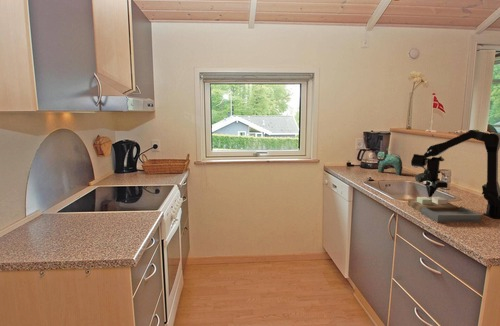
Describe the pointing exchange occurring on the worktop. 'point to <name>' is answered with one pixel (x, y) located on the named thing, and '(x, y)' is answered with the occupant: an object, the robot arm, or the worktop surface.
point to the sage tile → (424, 200)
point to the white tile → (439, 200)
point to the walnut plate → (431, 206)
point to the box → (452, 215)
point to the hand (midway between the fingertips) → (429, 196)
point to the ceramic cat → (389, 162)
